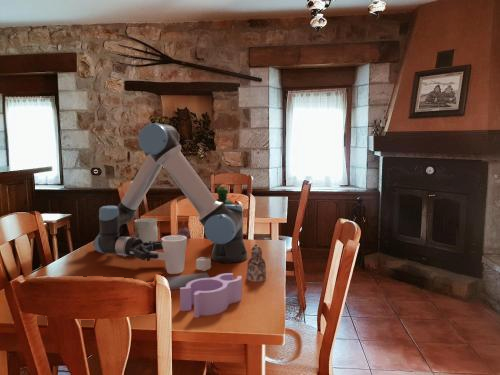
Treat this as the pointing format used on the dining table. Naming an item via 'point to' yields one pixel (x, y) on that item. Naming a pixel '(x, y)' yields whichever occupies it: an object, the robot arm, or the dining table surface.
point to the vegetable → (184, 231)
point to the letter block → (203, 263)
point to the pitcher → (146, 229)
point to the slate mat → (184, 280)
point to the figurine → (256, 266)
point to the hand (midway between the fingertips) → (176, 251)
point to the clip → (211, 294)
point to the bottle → (223, 195)
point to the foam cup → (174, 253)
